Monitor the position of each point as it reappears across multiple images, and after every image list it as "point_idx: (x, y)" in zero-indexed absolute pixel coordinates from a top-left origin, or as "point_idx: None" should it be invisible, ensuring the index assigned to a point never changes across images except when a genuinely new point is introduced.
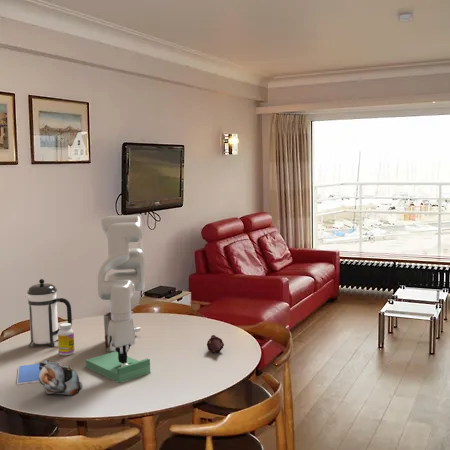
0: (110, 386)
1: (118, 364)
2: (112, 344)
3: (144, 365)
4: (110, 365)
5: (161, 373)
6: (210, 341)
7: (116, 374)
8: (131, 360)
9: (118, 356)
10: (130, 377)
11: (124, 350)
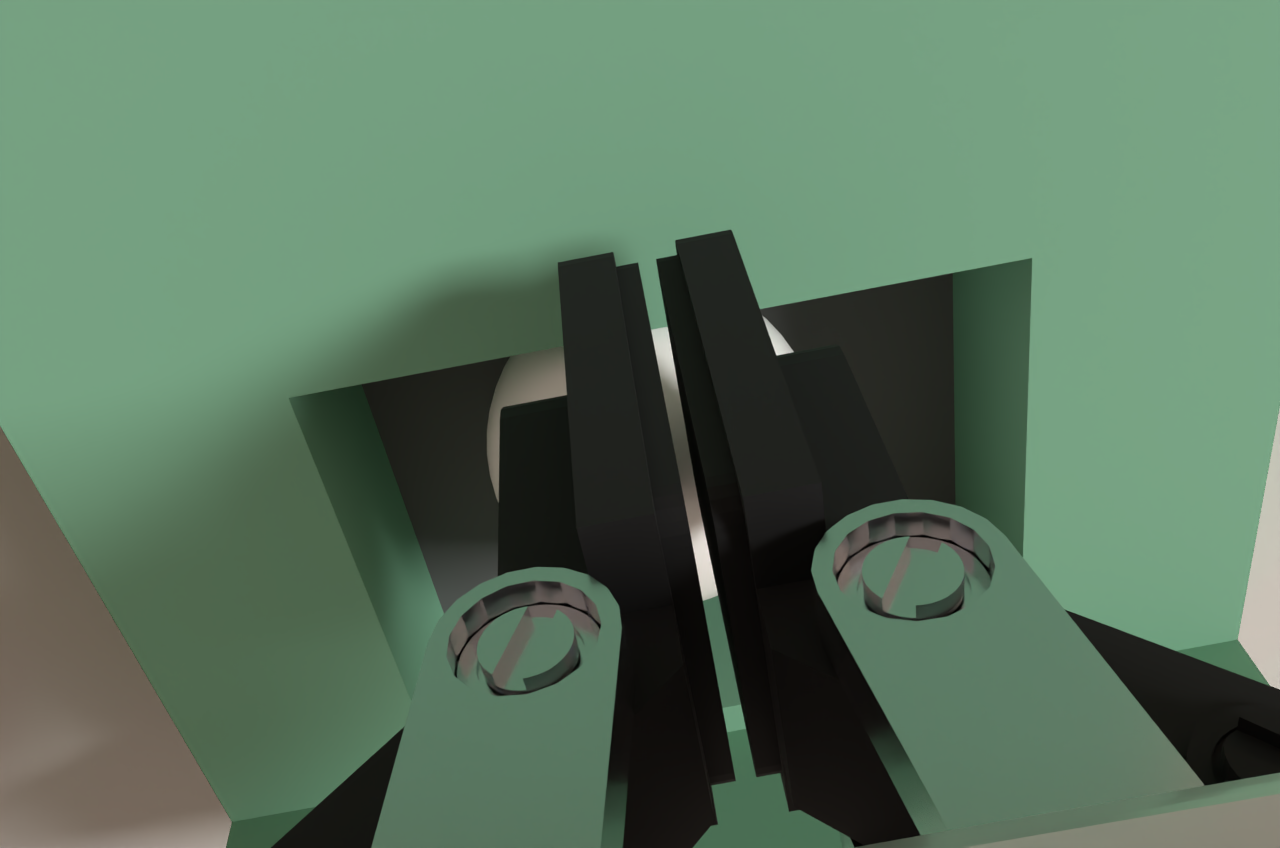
0: (63, 777)
1: (538, 190)
2: None
3: None
4: (210, 105)
5: None
6: None
7: (223, 787)
8: (1165, 64)
9: (502, 527)
10: None
11: (832, 812)
